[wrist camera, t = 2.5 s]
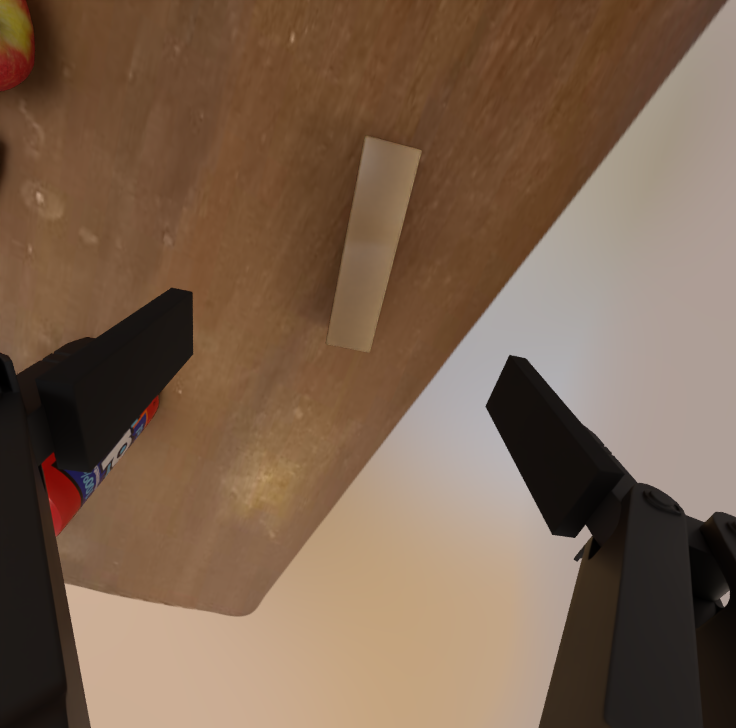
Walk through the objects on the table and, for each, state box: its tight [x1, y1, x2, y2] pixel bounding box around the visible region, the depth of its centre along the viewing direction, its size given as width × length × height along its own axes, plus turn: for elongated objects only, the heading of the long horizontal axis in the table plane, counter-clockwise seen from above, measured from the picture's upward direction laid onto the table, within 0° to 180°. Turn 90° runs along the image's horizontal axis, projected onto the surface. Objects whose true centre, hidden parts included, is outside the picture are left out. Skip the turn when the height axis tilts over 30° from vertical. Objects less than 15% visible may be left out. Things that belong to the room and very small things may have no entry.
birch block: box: [326, 135, 422, 352], centre depth 26 cm, size 4×14×4 cm, turn 167°
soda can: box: [42, 395, 159, 537], centre depth 27 cm, size 8×8×15 cm
